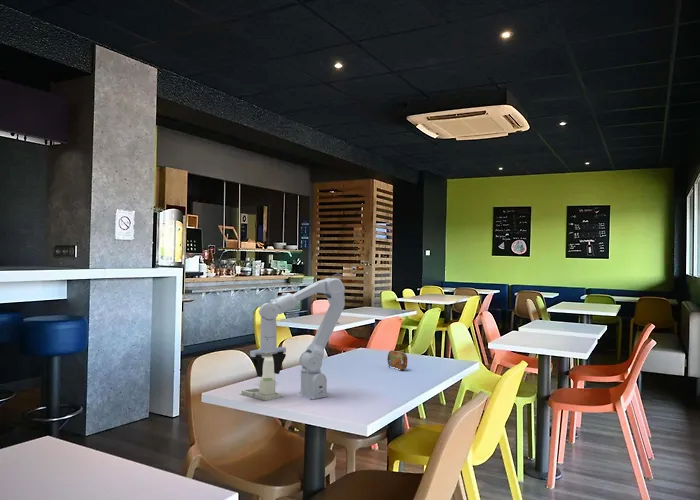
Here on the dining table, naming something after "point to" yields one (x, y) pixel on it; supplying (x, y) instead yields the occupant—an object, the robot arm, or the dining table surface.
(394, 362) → the tin
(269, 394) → the plug
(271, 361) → the can
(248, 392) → the grey divided tray
